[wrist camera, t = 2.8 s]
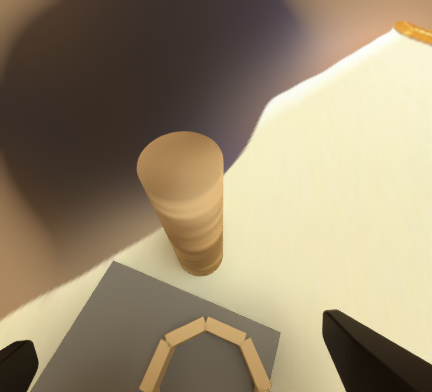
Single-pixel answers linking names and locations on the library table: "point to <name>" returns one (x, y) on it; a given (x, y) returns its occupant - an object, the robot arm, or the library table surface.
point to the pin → (187, 196)
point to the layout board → (158, 343)
